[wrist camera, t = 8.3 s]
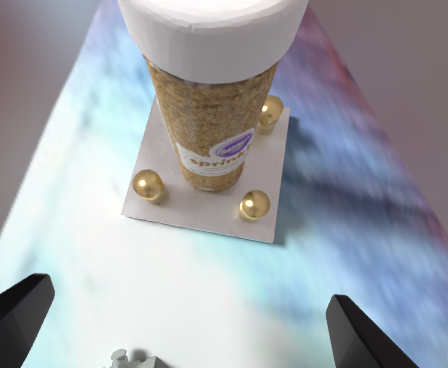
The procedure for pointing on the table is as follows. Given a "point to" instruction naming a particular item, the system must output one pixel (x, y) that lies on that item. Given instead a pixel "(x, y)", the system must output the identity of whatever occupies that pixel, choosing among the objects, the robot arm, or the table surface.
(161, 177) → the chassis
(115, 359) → the metal bracket
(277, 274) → the table surface
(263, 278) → the table surface
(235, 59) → the sprinkles bottle
